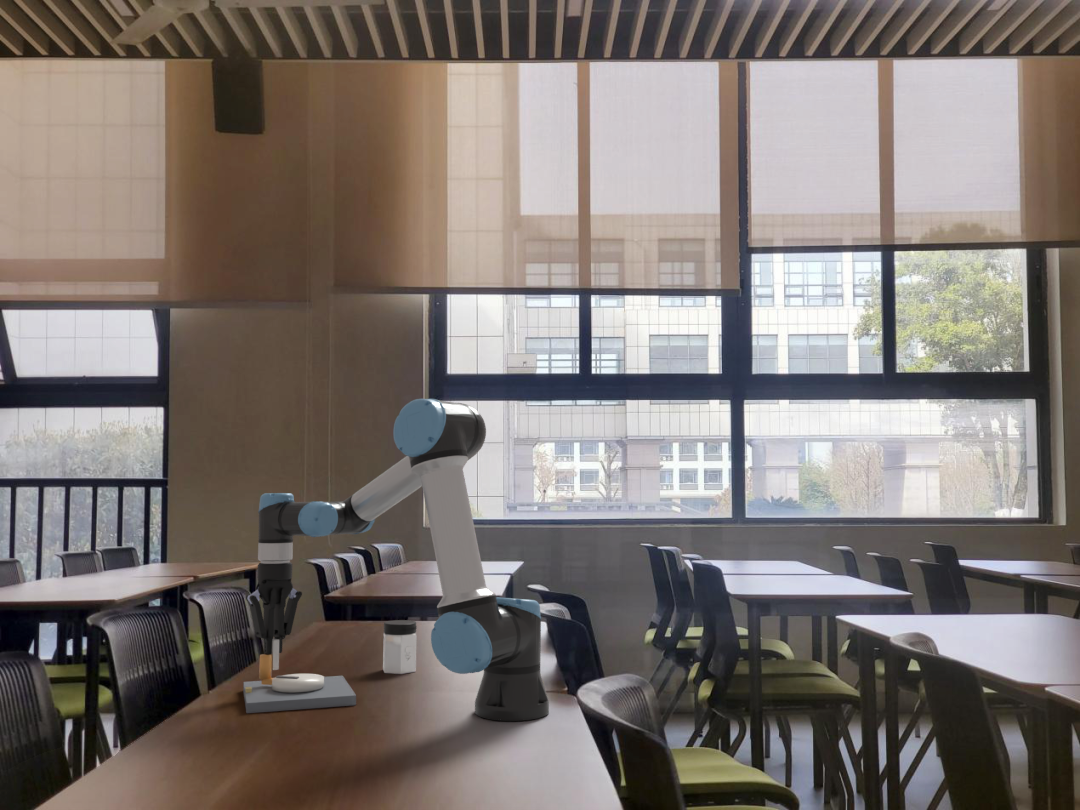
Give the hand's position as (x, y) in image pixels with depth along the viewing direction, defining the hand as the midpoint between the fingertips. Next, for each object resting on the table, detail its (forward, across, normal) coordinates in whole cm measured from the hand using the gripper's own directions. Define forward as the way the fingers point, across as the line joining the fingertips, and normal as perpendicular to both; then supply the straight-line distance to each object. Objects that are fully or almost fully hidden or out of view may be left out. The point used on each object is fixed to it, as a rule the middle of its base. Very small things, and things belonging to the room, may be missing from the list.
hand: (272, 668), depth 202 cm
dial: (+3, -1, +6) cm, 7 cm away
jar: (+6, -36, -2) cm, 37 cm away
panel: (+6, -2, +7) cm, 9 cm away
